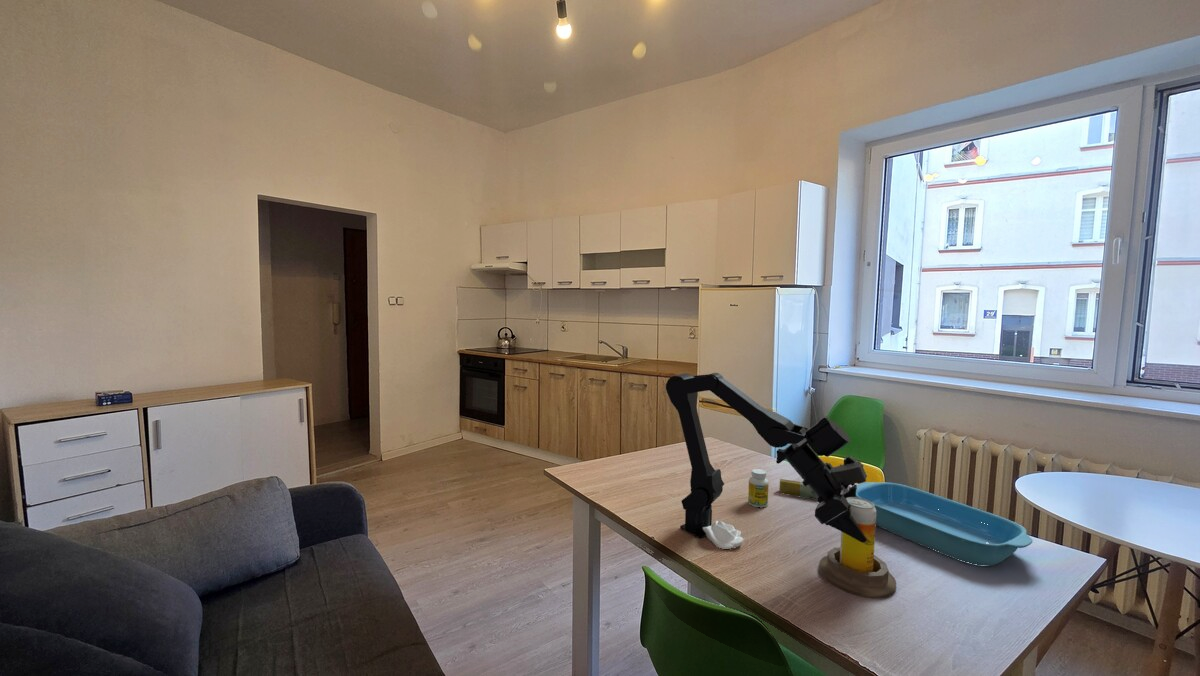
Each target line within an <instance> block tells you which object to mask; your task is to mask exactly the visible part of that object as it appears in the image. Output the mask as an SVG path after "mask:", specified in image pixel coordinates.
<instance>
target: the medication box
mask: <svg viewBox="0 0 1200 676" xmlns="http://www.w3.org/2000/svg"><path fill="white" fill-rule="evenodd" d="M802 482H803V481H797V480H790V479H783V478H780V479H779V485H778V486H779V490H778V491H779V494H781V493H784V494H783V495H787V494H789V496H792V497H793V496H794V497H799V496H800V498H804V497H805V499H810V498H811V500H816V498H817V495H816V494H815V493H814V491H813V490H812V489H811V488H810V487H809V486H808V485H807V486H806V487H805V486H804V484H803V483H802Z"/></svg>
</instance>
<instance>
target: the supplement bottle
mask: <svg viewBox="0 0 1200 676" xmlns="http://www.w3.org/2000/svg"><path fill="white" fill-rule="evenodd" d="M750 476H751V477H749V479H748V494H747V502H748V504H749V505H750V506H751V505H752V506H751V507H753V508H754V507H755V508H758V507H760V509H762V508H763V507H764V508H766V507H767V506H768V505H769V488H770V487H769V486H770V485H769V482H770V481H769V480H768V478H767V471H766V470H764V469H759V468H753V469H752V470H751V475H750Z"/></svg>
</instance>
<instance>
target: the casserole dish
mask: <svg viewBox="0 0 1200 676" xmlns="http://www.w3.org/2000/svg"><path fill="white" fill-rule="evenodd" d="M856 485H857V489H856V497H858V498H863V499H866V500H869V501H871V502H872V503H873V504H874V506H875V509H876V526H877V527H879V528H881V529H884V530H886V531H888V532H890V533H892V534H895V535H897V536H899V537H902V538H904V539H906V540H909V541H912V542H915V543H916V544H919V545H920V544H921V546H923V547H925V546H926V548H927V547H929V548H928V549H930V548H931V549H930V550H932V549H934V550H933V551H935V550H936V551H935V552H937V551H939V552H938V553H940V552H941V553H940V554H942V553H943V554H942V555H944V554H946V555H945V556H947V555H948V556H947V557H949V556H951V557H950V558H952V557H954V558H956V559H955V560H957V559H959V560H958V561H960V560H962V561H965V562H969V563H972V564H977V565H991V566H995V565H997V564H1000V563H1001V562H1003V561H1005V560H1006V559H1008V558H1009V557H1010V556H1012V555H1013V554H1014V553H1015V552H1017V550H1018V549H1023V548H1026V547H1028V546H1030V545H1031V544H1032V543H1033V538H1032V537H1030V536H1029V535H1028V532H1027V529H1026V527H1024V526H1023V525H1020V524H1019V523H1017V522H1015V521H1012V520H1010V519H1008V518H1005V517H1003V516H1000V515H996V514H994V513H991V512H989V511H985V510H982V509H979V508H976V507H973V506H970V505H967V504H964V503H961V502H958V501H955V500H952V499H950V498H946V497H944V496H940V495H937V494H934V493H931V492H928V491H925V490H923V489H919V488H916V487H912V486H908V485H905V484H901V483H895V482H885V481H883V482H873V481H871V482H870V481H869V482H867V481H865V482H863V483H859V484H858V483H857V484H856ZM938 509H939V510H938ZM981 522H982V523H981ZM984 523H985V524H984ZM987 524H988V525H987ZM986 542H988V543H989V544H986ZM954 558H953V559H954ZM962 561H961V562H962ZM965 562H964V563H965ZM972 564H971V565H972Z"/></svg>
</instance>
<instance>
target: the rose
mask: <svg viewBox="0 0 1200 676" xmlns="http://www.w3.org/2000/svg"><path fill="white" fill-rule="evenodd" d="M702 529H703V530H704V532H705V533H706V535H705V537H707V539H708V540H709V541H710V542H711V541H712V542H713V543H714V544H715V545H716V546H715V545H714V544H713V543H712V542H711V543H712V544H713V545H714V546H715V547H717V546H718V547H719V548H718V547H717V548H718V549H720V548H722V549H721V550H723V549H730V550H732V549H731V548H734V547H737V548H739V547H738V546H740V545H742V544H743V542H744V538H743V537H742V536H741V534H742V531H740V530H738V529H735V527H734V525H732V524H728V523H726V522H723V520H715V522H714V523H713V524H711V526H708V527H703V528H702ZM734 549H735V548H734Z"/></svg>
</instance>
